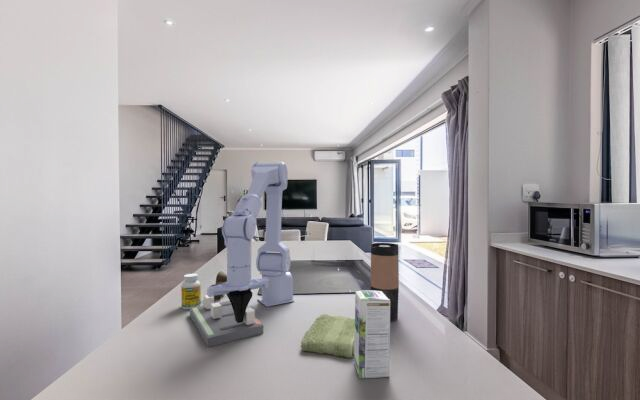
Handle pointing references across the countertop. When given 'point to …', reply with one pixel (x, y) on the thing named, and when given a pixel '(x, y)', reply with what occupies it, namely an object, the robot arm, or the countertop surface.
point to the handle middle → (216, 310)
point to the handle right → (208, 301)
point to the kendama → (220, 282)
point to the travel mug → (386, 273)
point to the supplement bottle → (191, 291)
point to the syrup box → (372, 334)
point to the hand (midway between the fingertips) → (239, 321)
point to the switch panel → (222, 325)
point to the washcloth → (331, 336)
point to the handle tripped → (249, 316)
